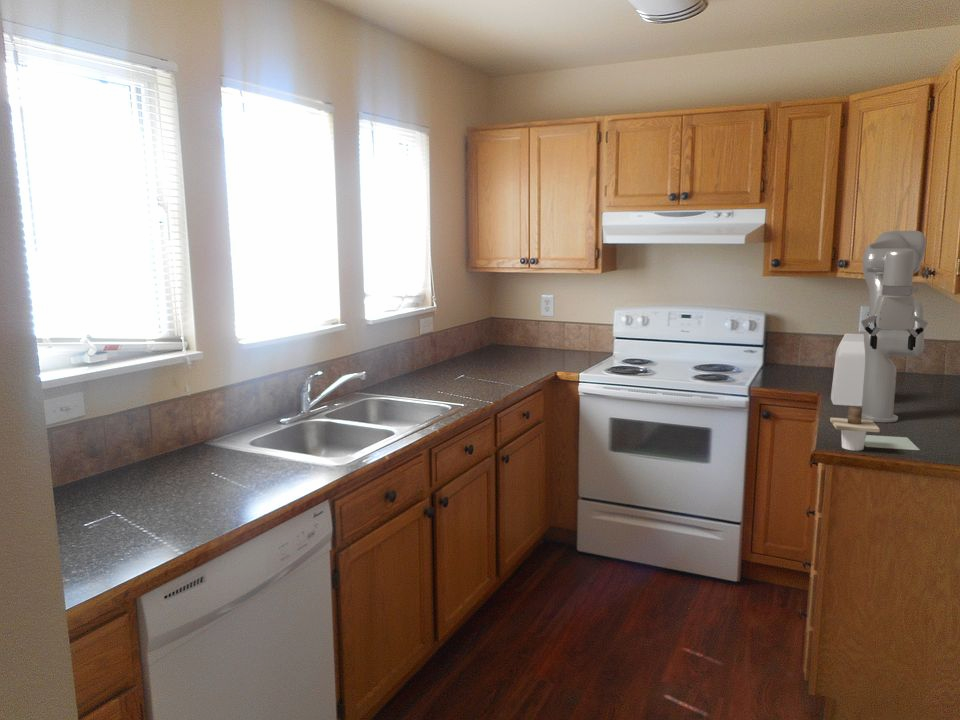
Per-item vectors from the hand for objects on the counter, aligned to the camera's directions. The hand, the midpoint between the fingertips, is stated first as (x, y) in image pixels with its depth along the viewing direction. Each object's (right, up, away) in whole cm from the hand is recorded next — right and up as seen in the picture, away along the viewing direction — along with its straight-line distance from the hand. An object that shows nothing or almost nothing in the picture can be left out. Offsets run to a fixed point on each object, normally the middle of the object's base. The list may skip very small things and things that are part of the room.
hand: (891, 349), depth 213 cm
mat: (-1, -28, +2) cm, 28 cm away
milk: (+17, -19, +56) cm, 62 cm away
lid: (-14, -23, -5) cm, 27 cm away
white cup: (-14, -30, -3) cm, 33 cm away
